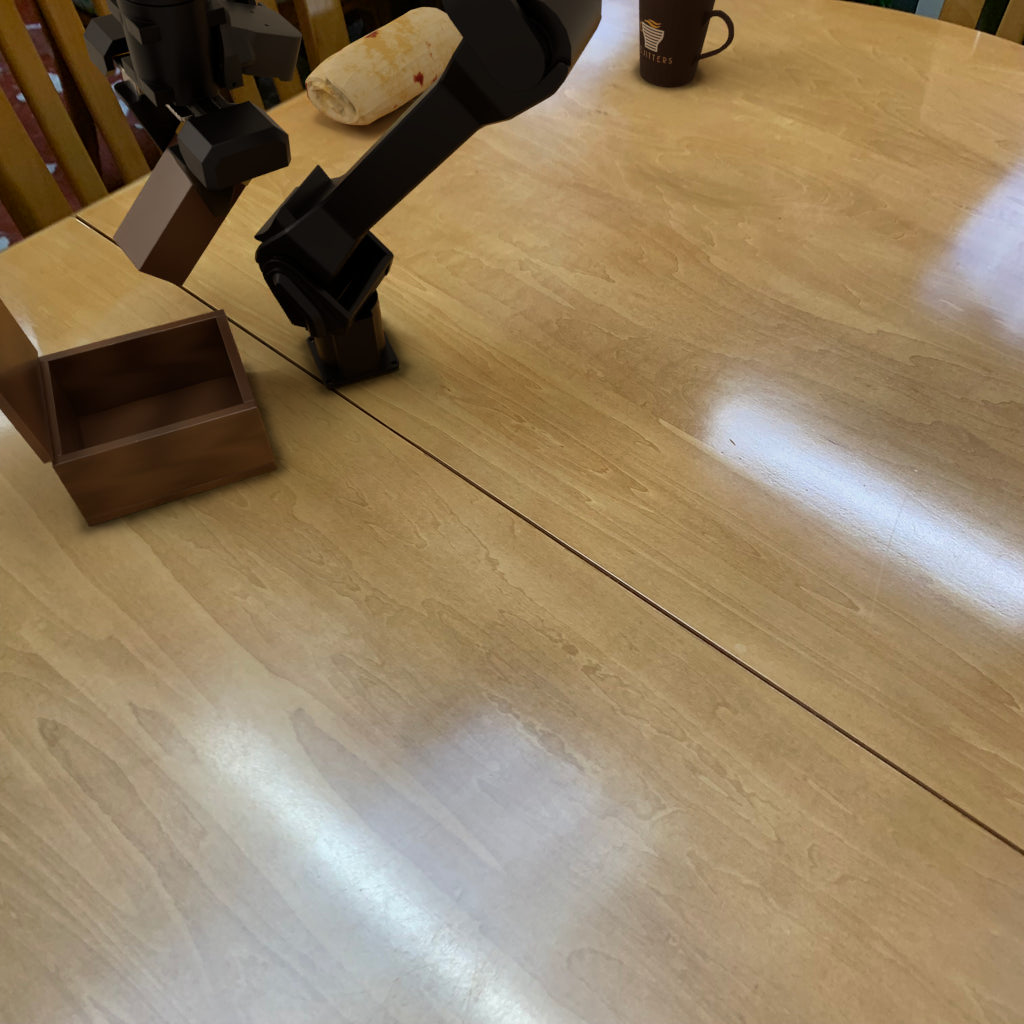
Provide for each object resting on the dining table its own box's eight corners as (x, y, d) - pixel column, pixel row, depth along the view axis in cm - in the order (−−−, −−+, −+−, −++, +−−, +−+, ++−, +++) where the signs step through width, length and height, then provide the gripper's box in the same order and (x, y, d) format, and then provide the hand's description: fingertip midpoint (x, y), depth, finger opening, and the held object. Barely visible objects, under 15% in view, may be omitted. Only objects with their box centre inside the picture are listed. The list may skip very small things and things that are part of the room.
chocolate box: (138, 271, 68) (227, 126, 65) (111, 237, 70) (196, 95, 67) (182, 287, 72) (269, 151, 68) (155, 254, 74) (239, 120, 70)
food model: (362, 150, 99) (474, 76, 109) (362, 93, 93) (481, 21, 103) (293, 108, 101) (410, 39, 111) (290, 50, 95) (413, -17, 106)
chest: (244, 371, 77) (223, 308, 72) (277, 469, 71) (257, 407, 65) (71, 419, 74) (35, 357, 69) (89, 526, 68) (51, 466, 62)
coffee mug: (618, 61, 109) (626, -30, 101) (686, 49, 110) (699, -41, 102) (657, 110, 102) (669, 17, 94) (729, 98, 103) (746, 4, 95)
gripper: (353, 20, 57) (363, 229, 70) (208, -100, 65) (241, 108, 77) (185, 68, 52) (229, 282, 65) (50, -68, 60) (113, 147, 73)
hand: (206, 198), depth 70 cm, fingers closed on chocolate box, 4 cm apart
